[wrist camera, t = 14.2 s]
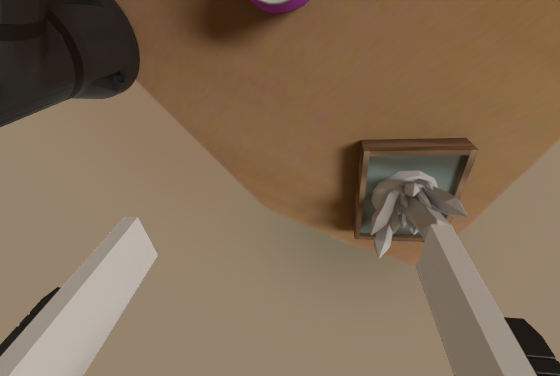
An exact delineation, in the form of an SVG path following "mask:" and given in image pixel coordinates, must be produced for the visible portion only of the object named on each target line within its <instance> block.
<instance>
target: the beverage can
mask: <svg viewBox="0 0 560 376" xmlns="http://www.w3.org/2000/svg"><path fill="white" fill-rule="evenodd" d="M249 1H250V2H252V3H253V4H254V5H255V6H257V7H258V8H259V9H261V10H264V11H267V12H270V13H286V12H289V11H292V10H294V9H297V8H299V7H301V6H303V5H305V4H306V3H307V2H308V1H309V0H249Z"/></svg>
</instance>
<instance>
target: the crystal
mask: <svg viewBox="0 0 560 376" xmlns="http://www.w3.org/2000/svg"><path fill="white" fill-rule="evenodd" d="M371 200H372V203H373V205H374V207H375V209H376V211H375V213H374V214H373V216H372V222H371V235H373V234H374V233H376V232H377V233H376V237H375V241H374V247H375V250H376V253H377V255H378V258H380V257H381V256H382V255H383V254H384V253H385V252H386V251H387V250H388V248H389V247H390V245H391V239H392V234H394V233H395V232H396V230H397V229H398V228H399V226H402V227H403V228H405V226H406V224H408V226H409V229H410V232H412V233H413V234H414V235H415V234H416V233H417V232H418V231H419V232H420V234H421V236H422V237H423V239H424V240H425V239H426V236H427V233H428V231H429V228H430V225H431V224H437V225H451V224H450V223H449V222H448V221H447V220H446V219H445V218H444V216H443V215H442V214H441V213H443V214H446V215H449V216H452V217H461V216H465V217H468V215H467V214H466V212H465V210H464V208H463V206H462V205H461V203H460V202H459V200H458V199H457V197H455V196H453V195H451V194H450V193H448V192H446V191H444V190H441V189H439V188H438V186H437V183H436V181H435V178H433V177H431V176H429V175H427V174H425V173H423V172H421V171H399V172H397V173H395V174H394V175H392V176H390V177H388V178H386V179H384V180H382V181H381V182H379V183H378V185H377V186H376V188H375V189H374V190H373V194H372V199H371ZM406 222H407V223H406ZM451 226H452V225H451Z"/></svg>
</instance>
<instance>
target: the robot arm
mask: <svg viewBox="0 0 560 376" xmlns="http://www.w3.org/2000/svg"><path fill="white" fill-rule="evenodd" d="M139 63H140V57H139V48H138V44H137V40H136V37H135V34H134V31H133V29H132V27H131V25H130V23H129V21H128V19H127V17H126V16H125V14H124V12H123V11H122V10H121V8H120V7H119V6H118V4H117V3H116V2H115V1H114V0H0V127H2V126H4V125H7V124H9V123H12V122H14V121H16V120H19V119H21V118H24V117H26V116H29V115H31V114H33V113H36V112H38V111H41V110H43V109H45V108H48V107H50V106H52V105H55V104H58V103H60V102H62V101H65V100H68V99H70V98H85V99H89V98H90V99H103V98H109V97H112V96H115V95H117V94H120V93H122V92H124V91H125V90H127V89H128V88H129V87H130V86H131V85H132V84H133V83H134V81H135V79H136V77H137V74H138V71H139ZM157 256H158V255H157V253H156V251H155V249H154V247H153V245H152V243H151V242H150V240H149V238H148V236H147V234H146V232H145V230H144V228H143V226H142V225H141V223H140V221H139V219H138V217H123V218H122V219H121V220H120V221H119V222H118V224H117V225H116V226H115V227H114V228H113V229H112V230H111V231H110V233H109V234H108V235H107V236H106V237H105V238H104V239H103V241H102V242H101V243H100V244H99V245H98V246H97V248H96V249H95V250H94V251H93V252H92V253H91V254H90V255H89V257H88V258H87V259H86V260H85V261H84V262H83V263H82V264H81V266H80V267H79V268H78V269H77V270H76V271H75V272H74V274H73V275H72V276H71V277H70V278H69V279H68V280H67V281H66V283H65V284H64V285H63V286H62V287H61V288H59V287H57V288H56V289H55V290H53V291H52V292H51V293H49V294H48V295H47V296H45V297H44V298H43V299H42V300H41V301H40V302H39V303H38V304H37V305H36V306H35V307H34V308H33V309H32V311H31V312H30V314H29V315H27V316H26V317H25V318H24V319H23V320H22V322H21V323H20V325H19V326H18V327H16V328H15V329H14V330H13V331H12V333H11V334H10V335H9V336H8V337H7V338H6V339H5V340H4V341H3V342H2V344H1V345H0V376H83V375H84V374H85V372H86V370H87V369H88V367H89V366H90V364H91V362H92V360H93V359H94V357H95V356H96V354H97V353H98V351H99V349H100V348H101V346H102V345H103V343H104V341H105V340H106V338H107V336H108V335H109V333H110V332H111V330H112V328H113V327H114V325H115V324H116V322H117V320H118V319H119V317H120V315H121V314H122V312H123V311H124V309H125V307H126V306H127V304H128V303H129V301H130V299H131V298H132V296H133V294H134V293H135V291H136V290H137V288H138V286H139V285H140V283H141V282H142V280H143V278H144V277H145V275H146V273H147V272H148V270H149V269H150V267H151V265H152V264H153V262H154V261H155V259H156V257H157ZM416 269H417V272H418V275H419V278H420V280H421V283H422V286H423V289H424V292H425V295H426V297H427V300H428V303H429V306H430V309H431V312H432V314H433V317H434V320H435V323H436V326H437V329H438V331H439V334H440V337H441V340H442V343H443V345H444V348H445V351H446V354H447V357H448V360H449V362H450V365H451V368H452V371H453V373H454V376H560V363H559V362H558V361H556V359H555V356H554V354H553V353H552V351H551V349H550V348H549V346H548V345H547V343H546V342H545V340H544V339H543V338H542V336H541V335H540V334H539V333H538V332H537V331H536V330H535V329H533V327H531V326H530V325H529V324H528V323H527V322H526V321H525V320H524V319H518V318H505V317H503V315H502V313H501V312H500V310H499V308H498V306H497V305H496V303H495V301H494V299H493V298H492V296H491V294H490V293H489V291H488V289H487V287H486V286H485V284H484V282H483V280H482V279H481V277H480V275H479V273H478V271H477V270H476V268H475V266H474V264H473V263H472V261H471V259H470V258H469V256H468V254H467V252H466V250H465V249H464V247H463V245H462V243H461V242H460V240H459V238H458V236H457V235H456V233H455V231H454V229H453V228H452V226H451V225H437V224H431V225H430V228H429V231H428V233H427V236H426V239H425V242H424V245H423V248H422V251H421V254H420V256H419V259H418V262H417V265H416Z"/></svg>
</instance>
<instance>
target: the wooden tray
mask: <svg viewBox="0 0 560 376" xmlns="http://www.w3.org/2000/svg"><path fill="white" fill-rule="evenodd" d="M477 152H478V149H477V148H476V147H475V146H474V145H473V144H472V143H471V142H470V141H469V140H468V139H467V138H444V139H392V140H361V149H360V159H359V169H358V179H357V189H356V199H355V209H354V219H353V229H354V237H355V239H366V240H375V237H376V233H377V232H376V233H374V234H373V235H371V222H372V216H373V214H374V213H375V211H376V209H375V207H374V205H373V203H372V200H371V199H372V194H373V190H374V189H375V188H376V186H377V185H378V183H379V182H381V181H382V180H384V179H386V178H388V177H390V176H392V175H394V174H395V173H397V172H399V171H421V172H423V173H425V174H427V175H429V176H431V177H433V178H435V181H436V183H437V186H438V188H439V189H441V190H444V191H446V192H448V193H450V194H451V195H453V196H455V197H457V199H458V200H459V199H460V197H461V194H462V192H463V189H464V186H465V184H466V181H467V179H468V176H469V173H470V171H471V168H472V165H473V163H474V160H475V158H476V155H477ZM441 214H442V215H443V216H444V218H445V219H446V220H447V221H448V222H449V223H451V220H452V218H453V217H452V216H449V215H446V214H443V213H441ZM406 223H407V222H406ZM391 240H392V241H417V242H425V240H424V239H423V237H422V236H421V234H420V232H419V231H418V232H417V233H416V234H415V235H414V234H413V233H412V232H410V229H409V226H408V224H406V226H405V228H403V227H402V226H399V228H398V229H397V230H396V232H395V233H394V234H392V239H391Z"/></svg>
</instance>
